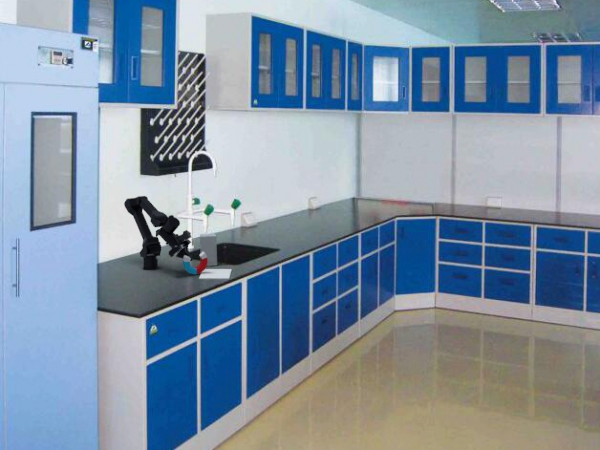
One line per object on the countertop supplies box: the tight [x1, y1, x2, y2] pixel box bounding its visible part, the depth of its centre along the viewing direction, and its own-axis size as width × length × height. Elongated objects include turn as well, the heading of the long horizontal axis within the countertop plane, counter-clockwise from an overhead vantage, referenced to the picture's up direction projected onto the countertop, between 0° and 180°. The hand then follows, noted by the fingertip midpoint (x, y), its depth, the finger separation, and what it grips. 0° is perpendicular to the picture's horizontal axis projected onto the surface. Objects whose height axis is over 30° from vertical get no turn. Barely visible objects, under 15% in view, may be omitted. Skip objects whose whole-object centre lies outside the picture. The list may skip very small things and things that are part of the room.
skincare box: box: [199, 233, 218, 267], centre depth 390 cm, size 8×7×16 cm
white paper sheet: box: [198, 268, 233, 280], centre depth 370 cm, size 14×20×1 cm
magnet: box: [182, 252, 208, 275], centre depth 368 cm, size 12×3×10 cm, turn 117°
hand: (192, 260), depth 368 cm, fingers closed
